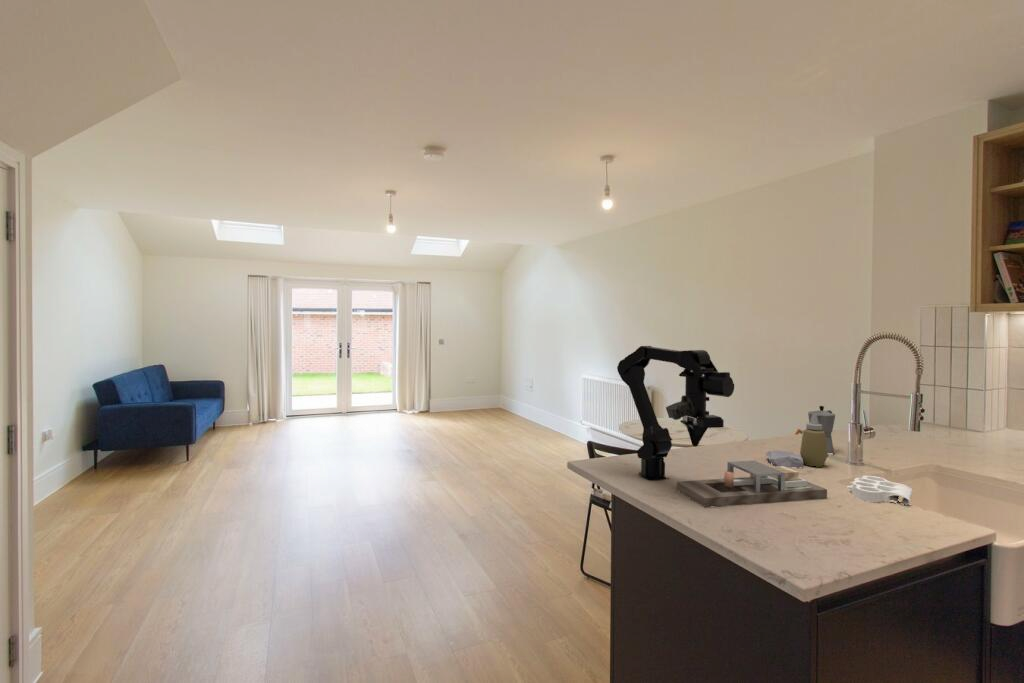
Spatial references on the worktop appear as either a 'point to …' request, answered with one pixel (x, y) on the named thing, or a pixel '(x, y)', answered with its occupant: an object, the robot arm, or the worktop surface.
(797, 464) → the stone block
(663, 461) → the robot arm
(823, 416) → the coffeepot
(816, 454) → the squeeze bottle
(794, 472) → the block
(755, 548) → the worktop surface
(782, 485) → the tunnel
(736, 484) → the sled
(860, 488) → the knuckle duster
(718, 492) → the deck
